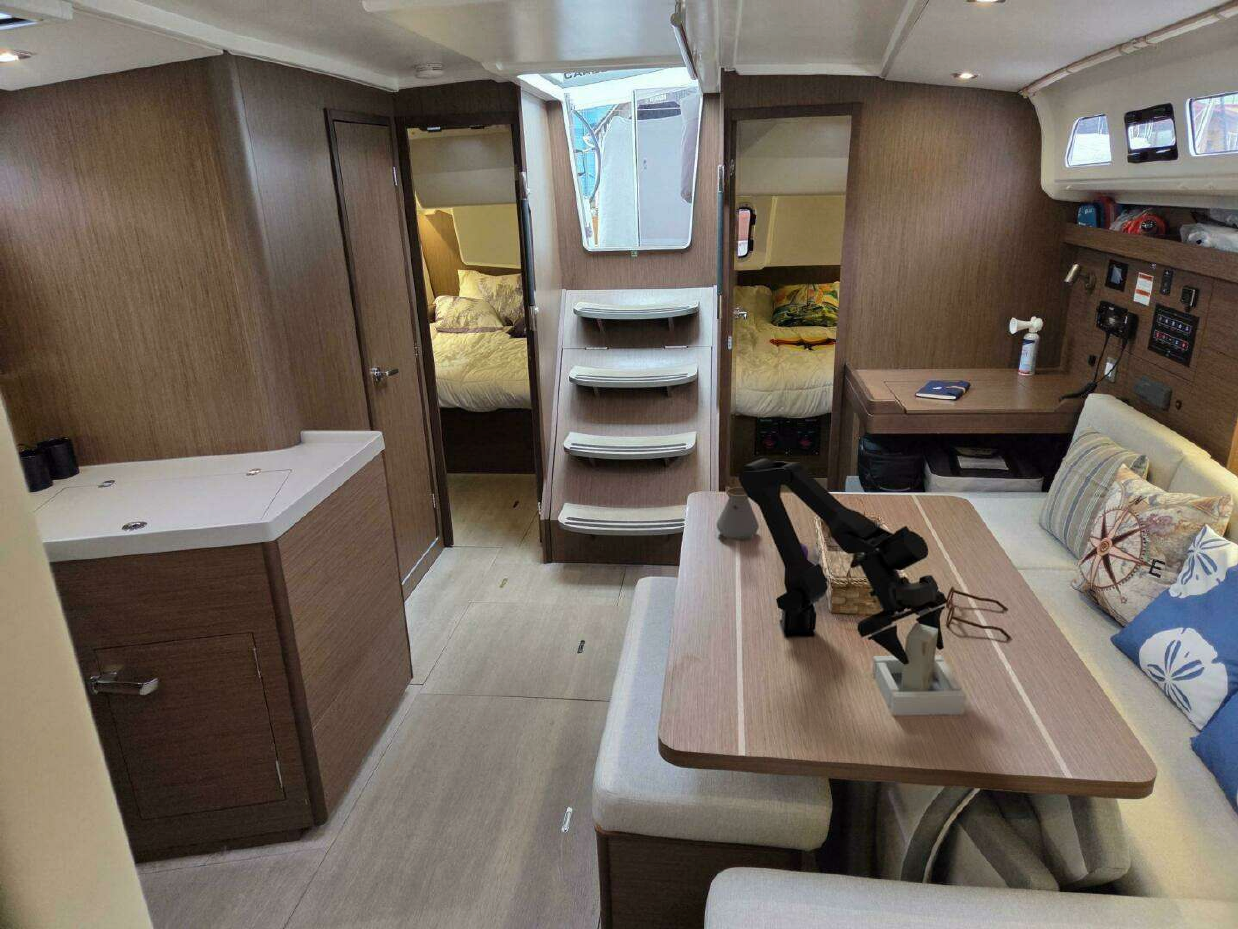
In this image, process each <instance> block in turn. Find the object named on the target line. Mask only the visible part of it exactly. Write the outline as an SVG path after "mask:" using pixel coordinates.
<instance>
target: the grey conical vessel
mask: <svg viewBox="0 0 1238 929" xmlns="http://www.w3.org/2000/svg"><path fill="white" fill-rule="evenodd" d="M725 493H726V495H727V497H728V500H727V502H726V504H725V505H724V508H723V510H722V512H721V513H720V516H719V517H718V520H717V522H716V528H717V530H718V531H719V533H720V534H721V535H722V536H723V537H724V538H726V539H727V540H731V541H736V542H737V541H739V542H741V541H746V540H749V539H751V538H752V537H753V536H754V535H755V534H756V533H757V532H758V530H759V527H760V525H759V522H758V519H757V517H756V515H755V512H754V511H753V507H752V505H751V503H750V501H749V497H748V496H747V495H746V493H745V491H744V489H743V488H742V486H741V487H739V486H738V487H737V486H736V487H734V486H733V487H731V488H728V489H726V490H725Z"/></svg>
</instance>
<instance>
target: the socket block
mask: <svg viewBox="0 0 1238 929" xmlns="http://www.w3.org/2000/svg"><path fill="white" fill-rule="evenodd" d="M871 667H872V668H871V675H872V677H873V676H874V677H873V678H874V679H875V680H874V681H875V683H876V685H877V687H878V689H879V691H880V693H881V695H882V697H883V700H884V701H885V703H886V706H887V707H888V709H889V711H890V713H891V716H936V715H937V714H939V716H941V715H940V714H949V715H964V714H965V709H966V702H967V694H966V693H965V692H964V690H962V686H961V685H960V684H959V682H958V680H957V679H956V677H955V676H954V675H953V673H952V671H951V669H950V668H949V667H948V665H947V663H946V662H945V661H944V659H943V657H942V656H941V655H940V654H935V659H934V667H933V675H932V683H931V686H930V688H929V690H928V691H926V692H900V688H901V680H902V671H903V663H902V662H900V661H899V660H898V659H897V658H896V657H894V656H893V655H874V656H873V659H872V666H871ZM929 714H931V715H929ZM935 714H936V715H935ZM937 716H938V715H937Z"/></svg>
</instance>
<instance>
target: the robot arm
mask: <svg viewBox="0 0 1238 929" xmlns="http://www.w3.org/2000/svg"><path fill="white" fill-rule="evenodd" d="M737 478H738V482H739V484H740V486H741V488H743V489H744V491H745V493H746V495H747V496H748V499H750V500H751V501H753V502H754V503H755V504H756V505H757V506H758V507H759V510H760V513H761V514H762V517H763V519H764V522H765V523H766V526H767V528H768V530H769V533H770V535H771V538H772V539H773V543H774V545H775V547H776V550H777V552H778V555H779V557H780V560H781V561H782V564H783V566H784V578H783V579H784V580H783V584H784V587H785V590H786V592H785V593H783V594H782V595H780V596H778V597H777V598H775V601H776V606H777V608H778V609H780V610H781V619H780V620H779V624H780V627H781V631H782V634H783V636H784V638H812V637H815V636H816V635H815V634H816V633H815V631H814V630H816V626H817V611H816V609H815V606H814V604H815V603H817V602H819V601H820V599H822V598H823V597H824V596H826V594H827V591H828V589H829V588H828V584H827V582H828V581H829V580H828V578H827V577H826V575H825V574H824V571H823V567H822V565H821V564H820V563H817V564H815V563H812V562H811V561H810V560H809V559H808V558H806V556H805V553H804V551H803V549H802V546H801V544H800V543H801V542H800V539H799V537H798V535H797V533H796V531H795V528H794V525H793V522H792V520H791V518H790V517H789V513H788V511H787V509H786V507H785V505H784V502H783V500H782V497H781V494H782V491H781V490H782V486H786V487H787V488H788V489H789V490H790V491H791V492H792V493H793V494H794V495H795V496H796V497H797V498H798V499H799V500H801V501H802V502H803V503H804V504H805V505H806V506H807V508H809V509H810V510H811V511H812V512H813V513H815V515H817V516H818V517H819V518H820V519H821V520H822V521H823V522H824V523H825V524H826V525H827V527H828V529H829V533H830V536H831V537H832V539H833V540H834V542H835V543H836V544H837V546H839V548H840V549H841V550H842V551H843V552H845V553H846V554H848V555H853V556H852V560H851V561H850V568H851V569H854V568H857V567H861V569H862V572H863V574H864V575H865V577H866V579H867V582H868V583H869V585H870V587H871V591H870V592H869V595H870V597H871V598H874V597H876V599H877V600H878V603H879V605H880V607H881V609H882V610H881V611H879V612H878V613H875V614H873V615H870V616H868V617H866V618H865V619H862V620H860V621H858V622H857V626H856V627H857V632H858V634H859V635H860V638H865V637H867V640H868V641H871V640H872V641H873V642H875V643H876V644H877V645H879V646H880V647H882V648H884V650H885V651H887V652H889V653H890V654H891V656H894V657H896V658H897V659H898V660H899V661H900V662H902V663H903V664H904V665H906V664H909V660H908V658H907V655H906V653H905V648H904V647H903V645H902V643H901V641H900V639H899V637H898V625H897V624H896V625H893V626H892V624H893V623H894V622H896V621H899V620H901V619H905V618H907V617H910V616H912V615H917V616H918V617H916V618H915V620H916V623H920V624H923V625H926V626H930V627H933V628H937V629H938V636H937V644H936V649H938V651H941V650H943V649H945V648H944V641H943V634H942V628H941V627H942V626H941V615H942V612H943V610H945V608H946V603H947V602H949V601H947V597H946V596H945V594H944V592H942V591H939V586H938V583H937V581H936V580H935V578H934V577H933V575H930V574H928V575H927V574H925V575H923V576H920V577H919V579H918V581H917V582H916V581H915V582H913V583H912V582H910V580H909V578H907V577H906V576H905V575H904V576H902V577H901V575H900V573H899V572H898V571H903V570H906V569H907V568H909V567H911V566H912V565H915V564H917V563H919V562H921V561H923V560H925V559H926V558H927V557H928V555H929V548H928V544H927V542H926V541H925V539H924V537H923V536H920V534H918V533H917V532H915V531H913V530H910V529H909V527H908V526H907V525H904V526H903V527H901V528H899V529H897V530H896V531H895V532H894V533H893V532H891V531H889V530H886V529H885V528H882V527H880V526H879V525H876V524H875V522H874V521H872V520H871V519H869V517H867V516H865V515H864V514H862V513H861V512H859V511H857V510H854V509H851V508H848V507H846V506H845V505H843V504H842V503H841V502H840V501H839V500H838V499H837V498H835V496H834V495H832V493H830V492H829V491H828V490H827V489H825V487H823V486H822V485H821V484H820V483H819V482H818V481H817V480H816V479H815V478H814V477H813V476H811V474H809V473H808V472H807V471H806V469H805V468H804V466H803V465H802V463H800V462H795V461H793V462H789V461H783V460H782V461H774V460H773V461H772V460H771V459H768V458H761V459H758V460H756V461H753V462H751V463H748V464H746V465H744V466H743V467H741V468H740V470H739V474H738V477H737ZM870 635H871V636H870ZM868 636H869V637H868Z"/></svg>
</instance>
